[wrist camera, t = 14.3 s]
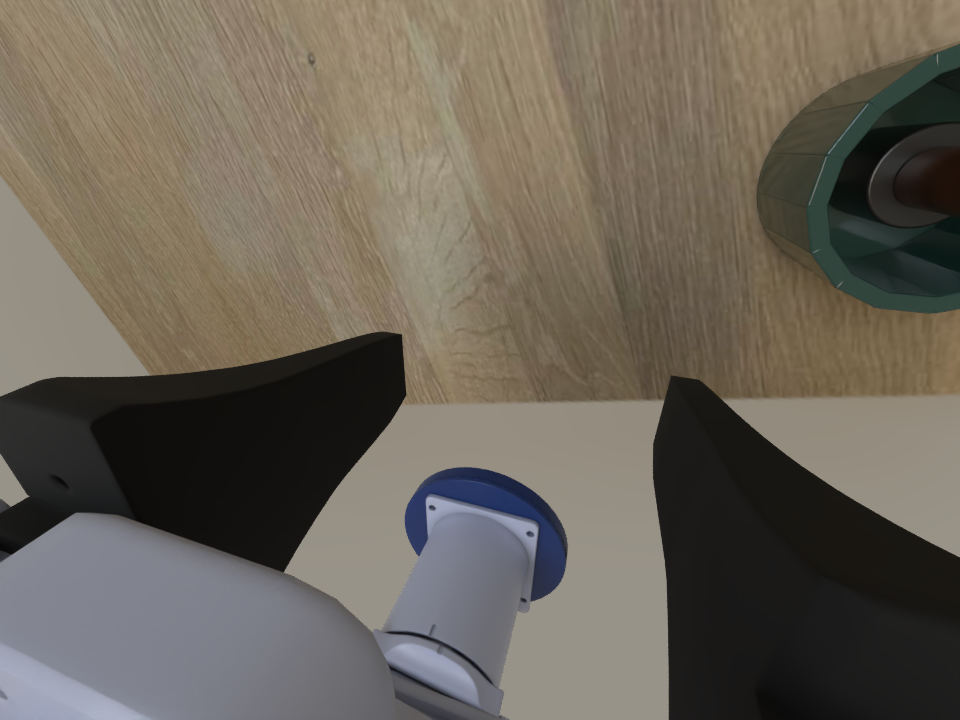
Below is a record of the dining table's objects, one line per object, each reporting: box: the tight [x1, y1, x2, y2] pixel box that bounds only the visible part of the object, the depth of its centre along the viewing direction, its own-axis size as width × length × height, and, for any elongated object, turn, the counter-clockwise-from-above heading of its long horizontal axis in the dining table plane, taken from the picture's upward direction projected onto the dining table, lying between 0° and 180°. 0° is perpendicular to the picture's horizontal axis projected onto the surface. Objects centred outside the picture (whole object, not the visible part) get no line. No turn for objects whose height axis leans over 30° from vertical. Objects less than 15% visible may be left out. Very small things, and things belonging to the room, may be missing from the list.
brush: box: [829, 121, 960, 229], centre depth 11 cm, size 3×3×7 cm
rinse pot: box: [757, 41, 960, 314], centre depth 13 cm, size 7×7×6 cm
